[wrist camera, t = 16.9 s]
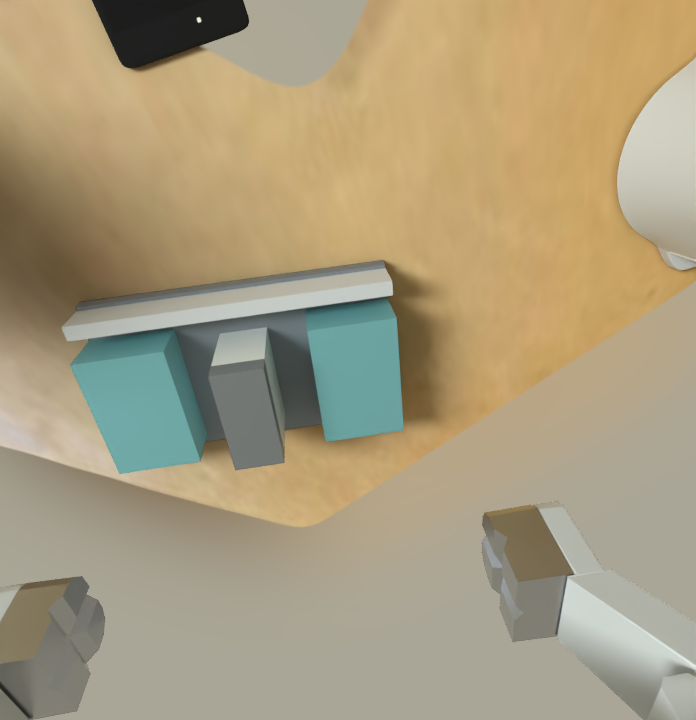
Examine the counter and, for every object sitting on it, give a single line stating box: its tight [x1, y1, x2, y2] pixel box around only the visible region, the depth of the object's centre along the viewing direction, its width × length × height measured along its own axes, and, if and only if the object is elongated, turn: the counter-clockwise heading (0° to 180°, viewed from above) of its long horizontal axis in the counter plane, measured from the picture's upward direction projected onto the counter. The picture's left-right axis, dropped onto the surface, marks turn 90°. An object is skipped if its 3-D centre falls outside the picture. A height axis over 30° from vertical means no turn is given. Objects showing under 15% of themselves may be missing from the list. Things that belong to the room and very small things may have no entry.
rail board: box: [61, 260, 404, 474], centre depth 42 cm, size 25×15×5 cm, turn 96°
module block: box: [208, 327, 285, 470], centre depth 40 cm, size 4×9×7 cm, turn 6°
